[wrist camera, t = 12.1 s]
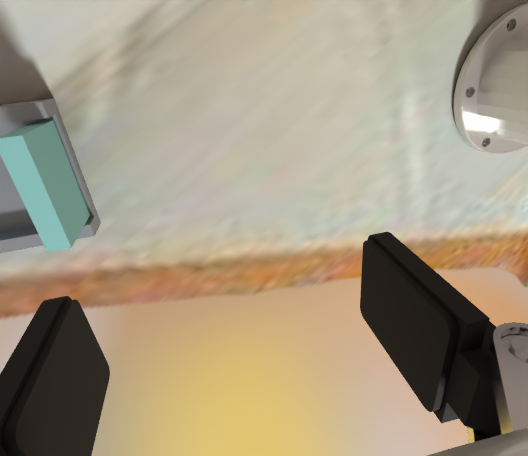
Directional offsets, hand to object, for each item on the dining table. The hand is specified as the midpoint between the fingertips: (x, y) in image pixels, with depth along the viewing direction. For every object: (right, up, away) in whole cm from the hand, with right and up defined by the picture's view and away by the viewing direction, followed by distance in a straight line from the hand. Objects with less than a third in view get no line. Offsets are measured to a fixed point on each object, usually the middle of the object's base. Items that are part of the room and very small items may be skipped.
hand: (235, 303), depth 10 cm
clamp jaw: (-14, +6, +15) cm, 21 cm away
